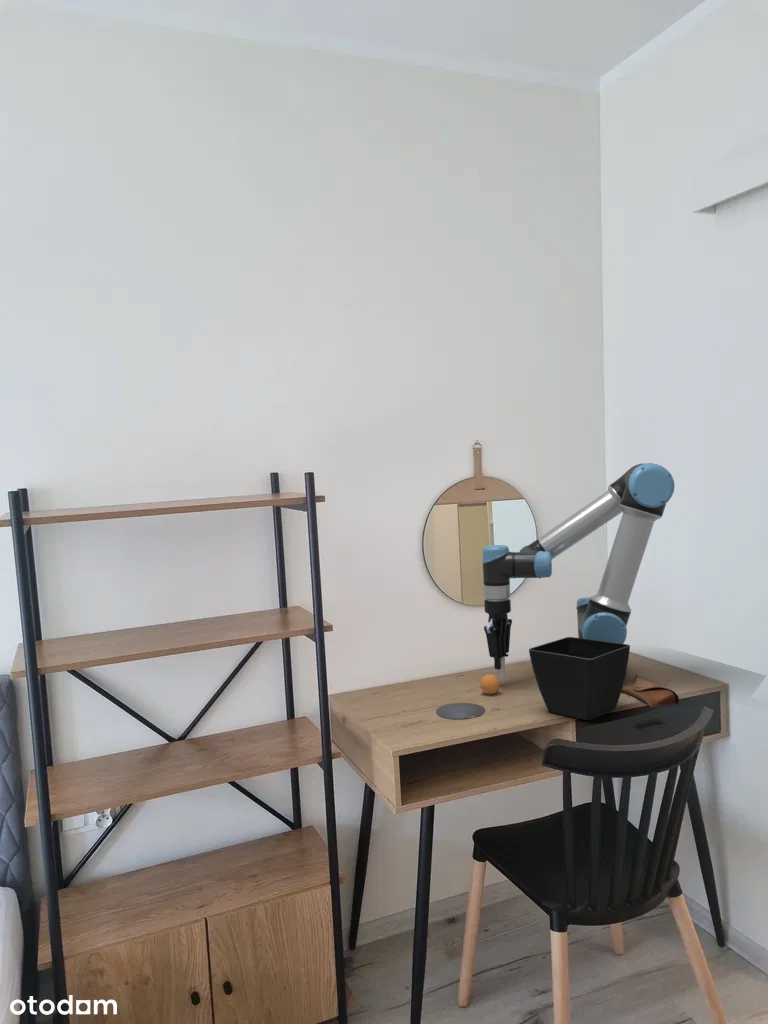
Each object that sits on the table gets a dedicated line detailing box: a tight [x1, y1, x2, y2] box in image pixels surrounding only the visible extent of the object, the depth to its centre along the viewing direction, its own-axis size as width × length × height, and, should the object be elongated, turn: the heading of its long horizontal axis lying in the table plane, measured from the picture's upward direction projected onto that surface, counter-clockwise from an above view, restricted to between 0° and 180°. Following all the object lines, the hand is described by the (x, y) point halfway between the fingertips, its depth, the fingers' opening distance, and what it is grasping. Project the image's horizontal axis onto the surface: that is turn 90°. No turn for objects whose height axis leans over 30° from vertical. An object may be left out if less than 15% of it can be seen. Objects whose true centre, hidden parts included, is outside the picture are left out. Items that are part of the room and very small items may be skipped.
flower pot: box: [528, 636, 631, 721], centre depth 196 cm, size 19×19×17 cm
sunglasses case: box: [621, 674, 680, 708], centre depth 205 cm, size 18×7×7 cm
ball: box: [479, 673, 501, 695], centre depth 215 cm, size 6×6×6 cm
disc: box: [435, 702, 486, 720], centre depth 201 cm, size 13×13×1 cm
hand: (500, 679), depth 221 cm, fingers closed
